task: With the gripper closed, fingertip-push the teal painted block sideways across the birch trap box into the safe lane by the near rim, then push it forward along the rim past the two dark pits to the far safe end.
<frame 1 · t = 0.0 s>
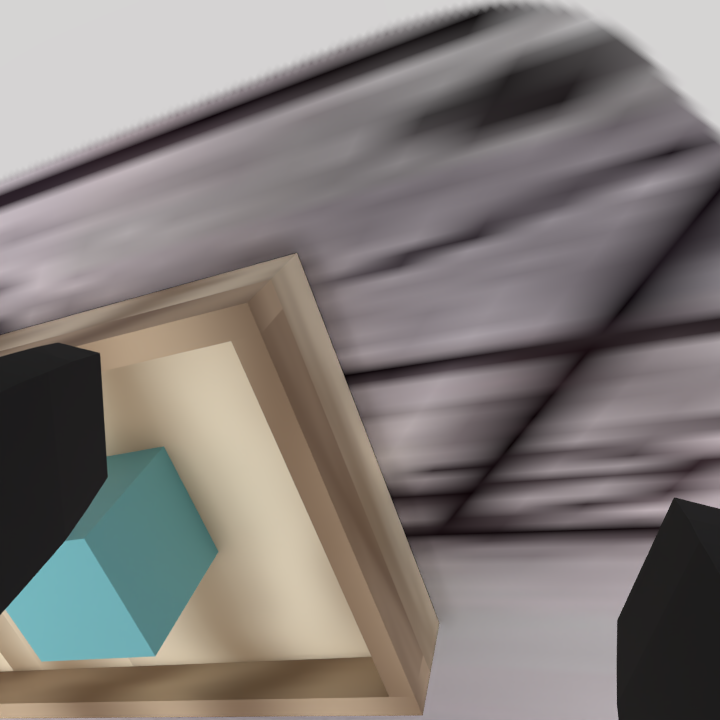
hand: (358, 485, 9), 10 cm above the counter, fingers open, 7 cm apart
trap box: (78, 504, 25), on the counter
block: (139, 508, 22), point 2 cm above the counter, touching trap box
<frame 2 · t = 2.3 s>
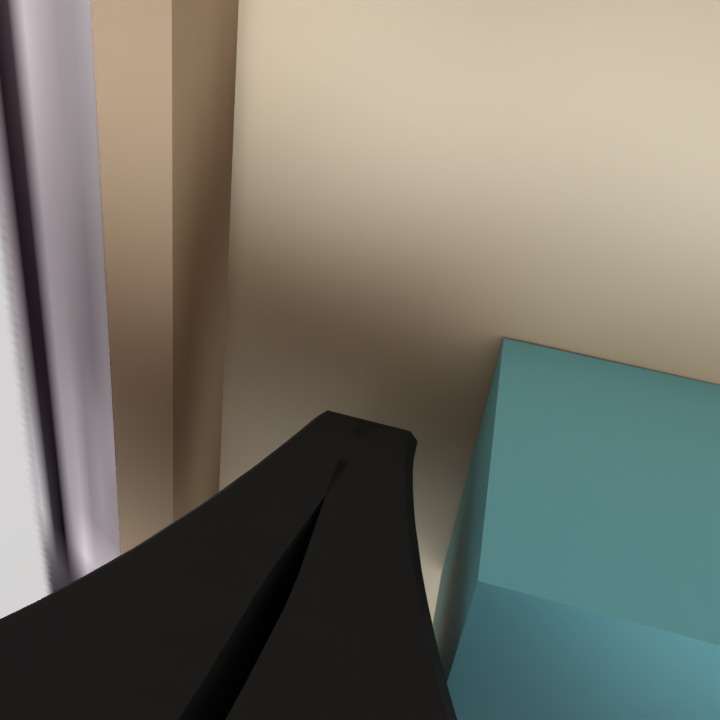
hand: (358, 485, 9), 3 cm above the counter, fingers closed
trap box: (557, 625, 13), on the counter
block: (620, 505, 9), point 2 cm above the counter, touching gripper
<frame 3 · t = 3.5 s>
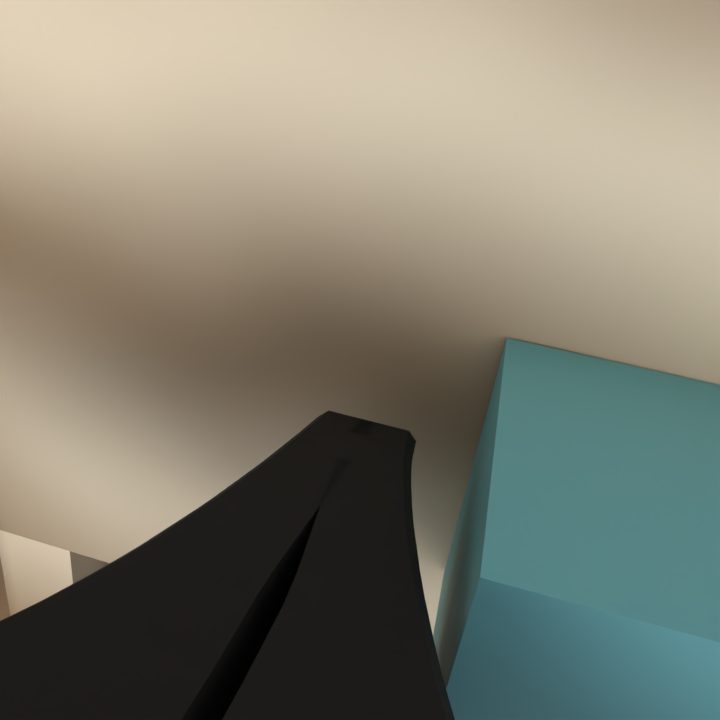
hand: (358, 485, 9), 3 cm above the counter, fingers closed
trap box: (338, 562, 14), on the counter
block: (622, 505, 9), point 2 cm above the counter, touching gripper, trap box
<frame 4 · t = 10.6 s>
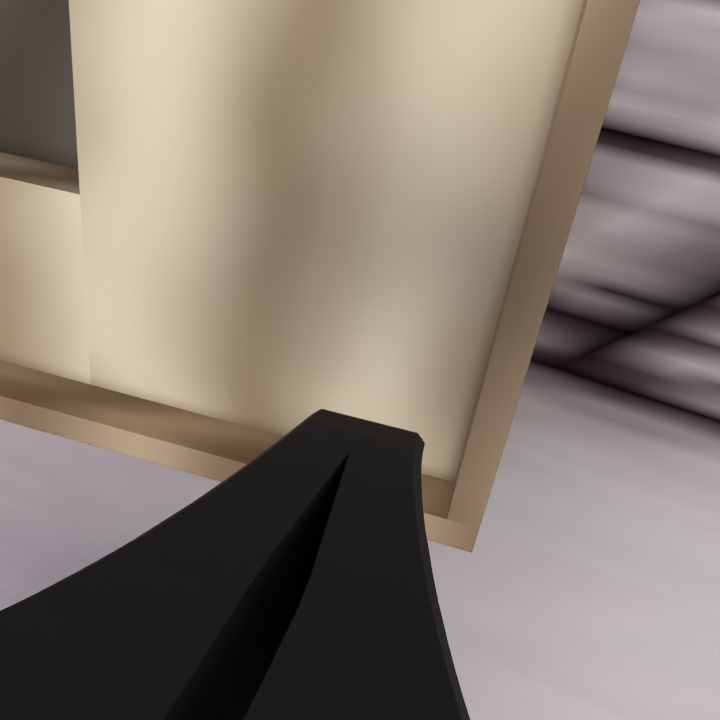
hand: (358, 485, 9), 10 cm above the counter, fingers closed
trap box: (105, 154, 18), on the counter
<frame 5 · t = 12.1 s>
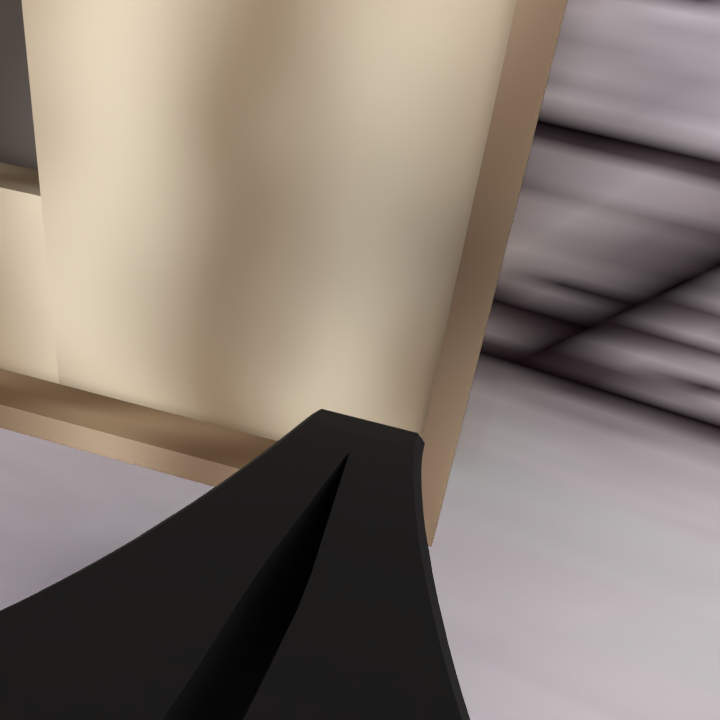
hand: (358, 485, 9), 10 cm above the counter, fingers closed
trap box: (69, 156, 19), on the counter
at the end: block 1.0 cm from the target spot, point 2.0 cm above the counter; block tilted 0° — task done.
